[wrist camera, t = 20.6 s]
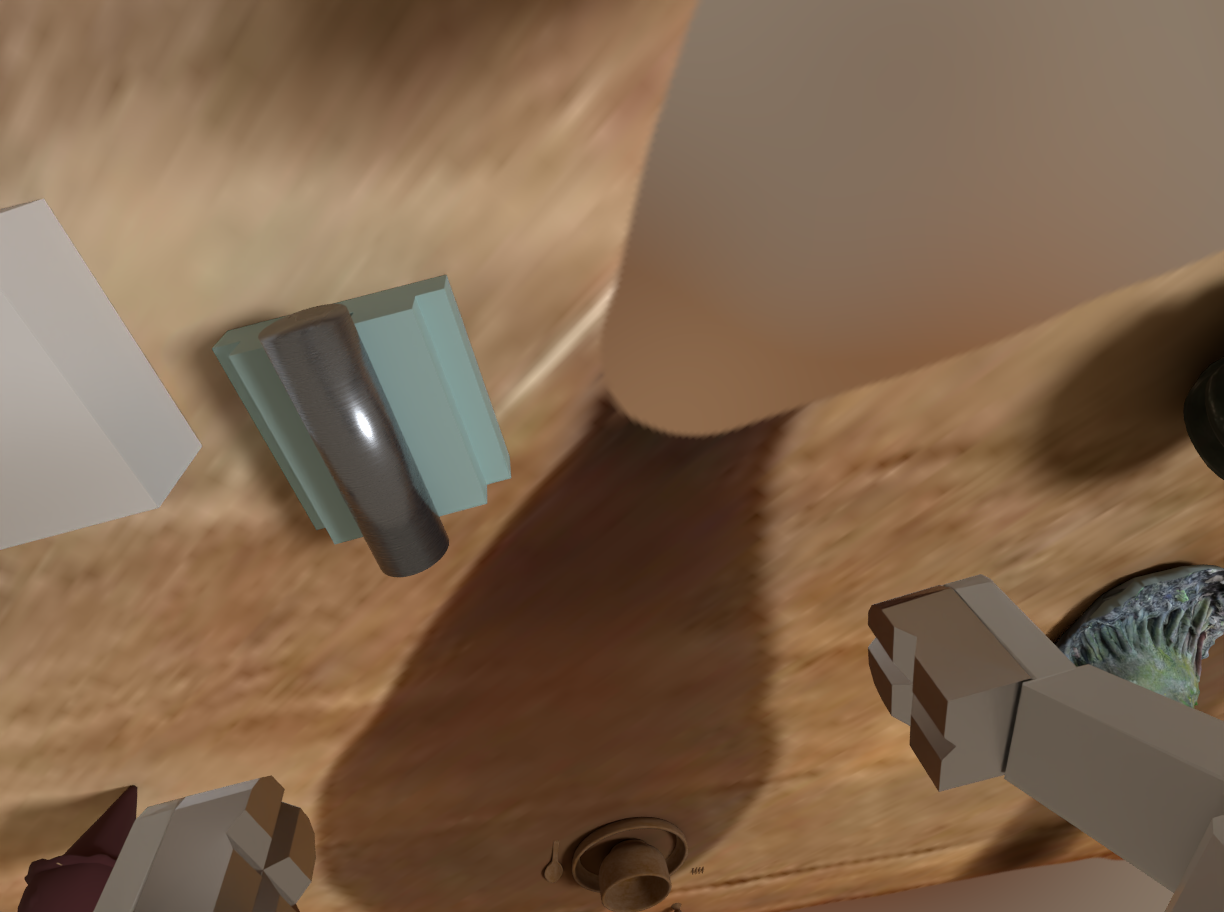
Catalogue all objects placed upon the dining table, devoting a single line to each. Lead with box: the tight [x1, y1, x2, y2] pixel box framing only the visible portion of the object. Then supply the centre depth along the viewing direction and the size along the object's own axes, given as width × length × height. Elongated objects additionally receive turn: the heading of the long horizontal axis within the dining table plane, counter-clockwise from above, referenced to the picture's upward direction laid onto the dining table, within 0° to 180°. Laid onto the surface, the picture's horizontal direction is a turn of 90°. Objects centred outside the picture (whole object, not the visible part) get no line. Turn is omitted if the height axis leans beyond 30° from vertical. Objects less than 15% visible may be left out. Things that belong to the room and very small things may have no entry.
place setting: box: [544, 817, 704, 912], centre depth 69 cm, size 18×20×6 cm
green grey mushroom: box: [1056, 565, 1224, 709], centre depth 60 cm, size 18×20×18 cm
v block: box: [212, 275, 511, 544], centre depth 37 cm, size 12×12×4 cm
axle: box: [258, 304, 449, 577], centre depth 34 cm, size 14×4×4 cm, turn 12°
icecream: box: [18, 786, 137, 912], centre depth 46 cm, size 7×7×15 cm
